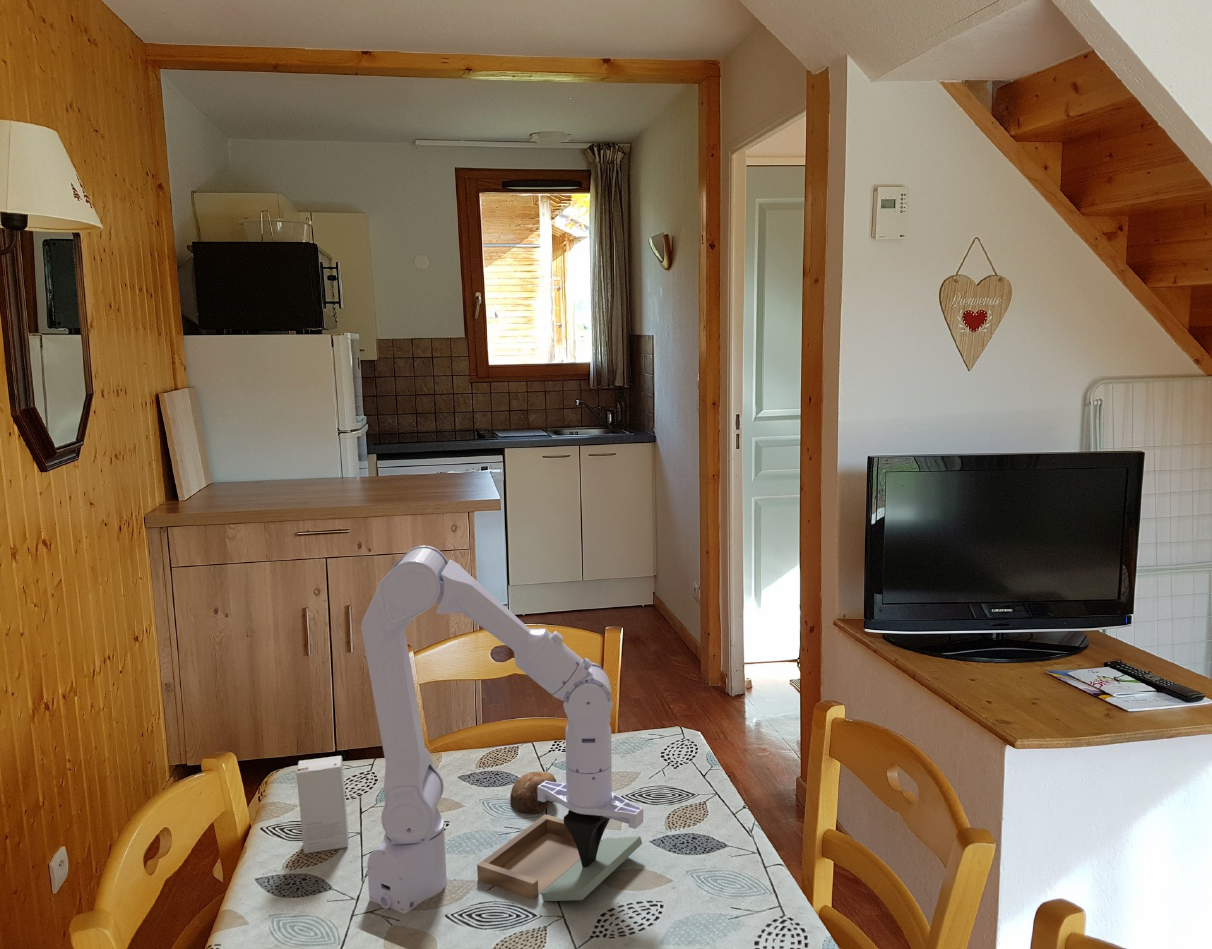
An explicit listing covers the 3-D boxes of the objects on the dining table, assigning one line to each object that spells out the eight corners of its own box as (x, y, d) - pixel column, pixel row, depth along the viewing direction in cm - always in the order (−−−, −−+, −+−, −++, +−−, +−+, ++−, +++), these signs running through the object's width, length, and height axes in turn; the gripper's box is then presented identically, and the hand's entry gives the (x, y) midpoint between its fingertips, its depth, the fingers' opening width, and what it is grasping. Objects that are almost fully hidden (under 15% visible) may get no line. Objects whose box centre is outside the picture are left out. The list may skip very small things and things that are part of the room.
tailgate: (540, 893, 115) (579, 891, 112) (603, 839, 127) (640, 836, 124) (543, 901, 115) (582, 900, 112) (605, 846, 127) (642, 843, 124)
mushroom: (572, 779, 144) (548, 753, 141) (566, 821, 137) (541, 795, 134) (530, 796, 146) (506, 771, 144) (522, 839, 139) (497, 814, 137)
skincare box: (349, 833, 135) (343, 753, 134) (348, 849, 131) (343, 766, 129) (304, 840, 134) (298, 758, 132) (302, 856, 129) (296, 772, 128)
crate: (478, 890, 120) (477, 865, 120) (545, 837, 133) (545, 814, 132) (534, 910, 116) (533, 883, 115) (598, 853, 128) (597, 829, 128)
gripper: (655, 764, 118) (655, 865, 120) (558, 739, 125) (559, 836, 127) (627, 787, 112) (627, 893, 114) (527, 760, 119) (529, 860, 121)
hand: (589, 865), depth 120 cm, fingers closed, pressing on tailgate
